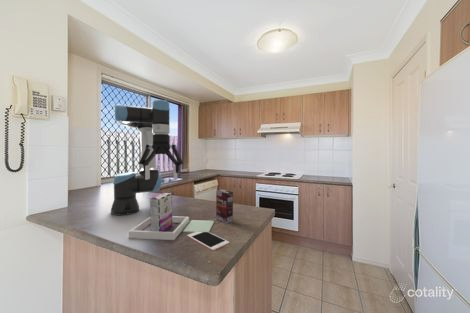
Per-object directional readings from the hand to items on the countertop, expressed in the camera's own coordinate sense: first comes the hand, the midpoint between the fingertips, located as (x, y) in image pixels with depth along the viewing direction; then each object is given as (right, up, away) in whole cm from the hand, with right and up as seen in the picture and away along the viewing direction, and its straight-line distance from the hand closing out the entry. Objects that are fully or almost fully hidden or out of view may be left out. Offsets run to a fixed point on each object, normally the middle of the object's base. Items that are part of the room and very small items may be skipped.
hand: (161, 179), depth 93 cm
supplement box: (+29, -24, +14) cm, 40 cm away
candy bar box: (0, -24, +1) cm, 24 cm away
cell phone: (+23, -25, -9) cm, 35 cm away
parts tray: (0, -24, +1) cm, 24 cm away
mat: (+17, -24, +5) cm, 30 cm away
